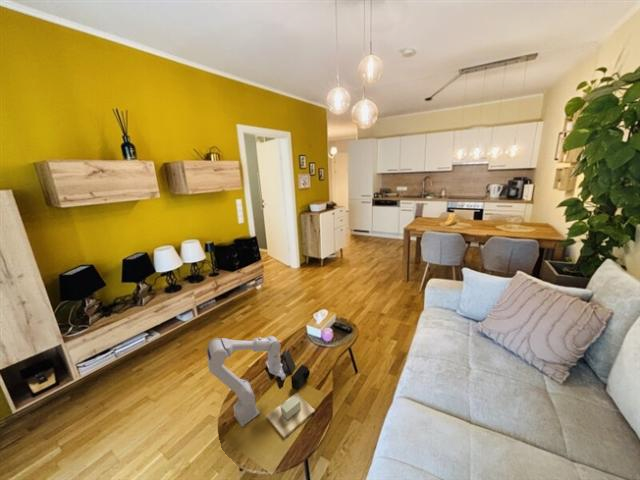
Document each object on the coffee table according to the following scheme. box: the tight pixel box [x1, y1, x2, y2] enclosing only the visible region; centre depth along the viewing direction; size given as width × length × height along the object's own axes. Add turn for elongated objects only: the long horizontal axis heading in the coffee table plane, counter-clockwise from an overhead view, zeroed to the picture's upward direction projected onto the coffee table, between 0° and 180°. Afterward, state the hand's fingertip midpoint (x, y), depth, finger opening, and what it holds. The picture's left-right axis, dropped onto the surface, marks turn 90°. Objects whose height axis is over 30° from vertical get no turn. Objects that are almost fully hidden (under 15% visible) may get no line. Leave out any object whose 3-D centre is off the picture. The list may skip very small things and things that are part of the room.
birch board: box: [265, 392, 316, 439], centre depth 122 cm, size 18×14×1 cm
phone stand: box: [280, 347, 297, 375], centre depth 149 cm, size 9×6×12 cm, turn 74°
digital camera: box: [290, 364, 311, 392], centre depth 140 cm, size 10×5×7 cm, turn 152°
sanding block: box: [281, 396, 301, 421], centre depth 122 cm, size 8×4×5 cm, turn 133°
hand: (276, 383), depth 129 cm, fingers open, 7 cm apart
